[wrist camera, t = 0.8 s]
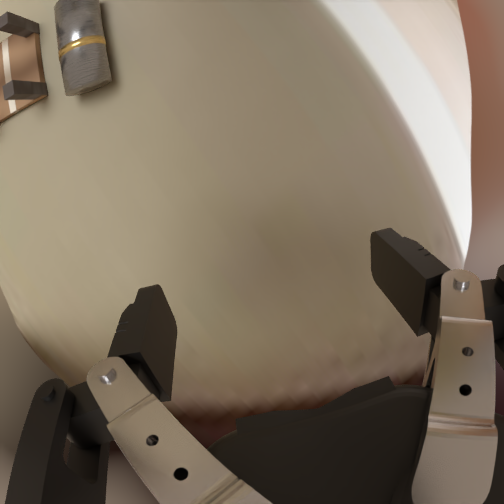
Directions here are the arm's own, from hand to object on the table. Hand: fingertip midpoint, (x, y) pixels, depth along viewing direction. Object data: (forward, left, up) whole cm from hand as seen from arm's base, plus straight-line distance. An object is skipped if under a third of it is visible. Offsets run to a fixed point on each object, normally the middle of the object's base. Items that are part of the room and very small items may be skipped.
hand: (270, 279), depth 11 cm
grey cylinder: (-18, -12, -24) cm, 32 cm away
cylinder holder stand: (-20, -23, -24) cm, 39 cm away
